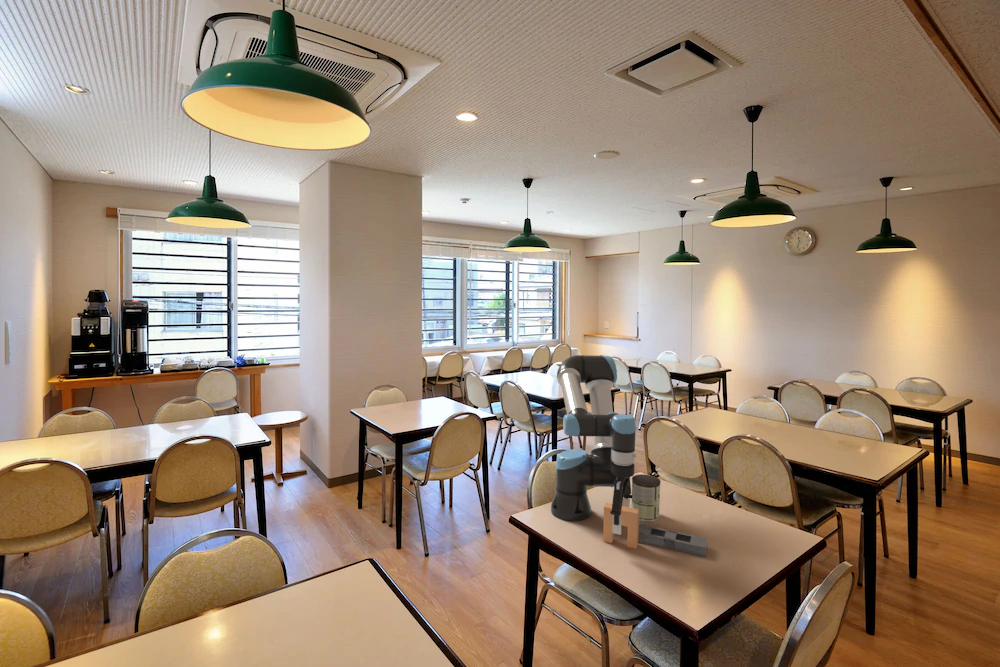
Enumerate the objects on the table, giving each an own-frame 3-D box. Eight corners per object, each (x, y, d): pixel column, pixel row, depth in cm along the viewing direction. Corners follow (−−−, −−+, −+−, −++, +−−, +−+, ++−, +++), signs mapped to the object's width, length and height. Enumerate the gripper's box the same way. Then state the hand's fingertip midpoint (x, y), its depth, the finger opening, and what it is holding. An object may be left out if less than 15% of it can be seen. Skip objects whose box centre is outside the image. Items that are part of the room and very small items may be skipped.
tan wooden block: (602, 541, 160) (603, 506, 159) (605, 537, 163) (606, 503, 163) (636, 549, 155) (637, 513, 155) (638, 544, 159) (639, 509, 158)
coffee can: (628, 509, 186) (629, 473, 185) (655, 510, 185) (657, 474, 184) (633, 521, 176) (634, 483, 175) (662, 522, 174) (663, 485, 174)
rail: (634, 541, 161) (634, 532, 161) (638, 532, 167) (638, 523, 167) (705, 556, 151) (705, 547, 151) (706, 546, 158) (706, 538, 157)
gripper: (626, 476, 145) (625, 544, 146) (640, 453, 167) (639, 512, 168) (602, 472, 148) (600, 538, 149) (619, 450, 170) (617, 508, 172)
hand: (621, 524), depth 159 cm, fingers open, 13 cm apart
